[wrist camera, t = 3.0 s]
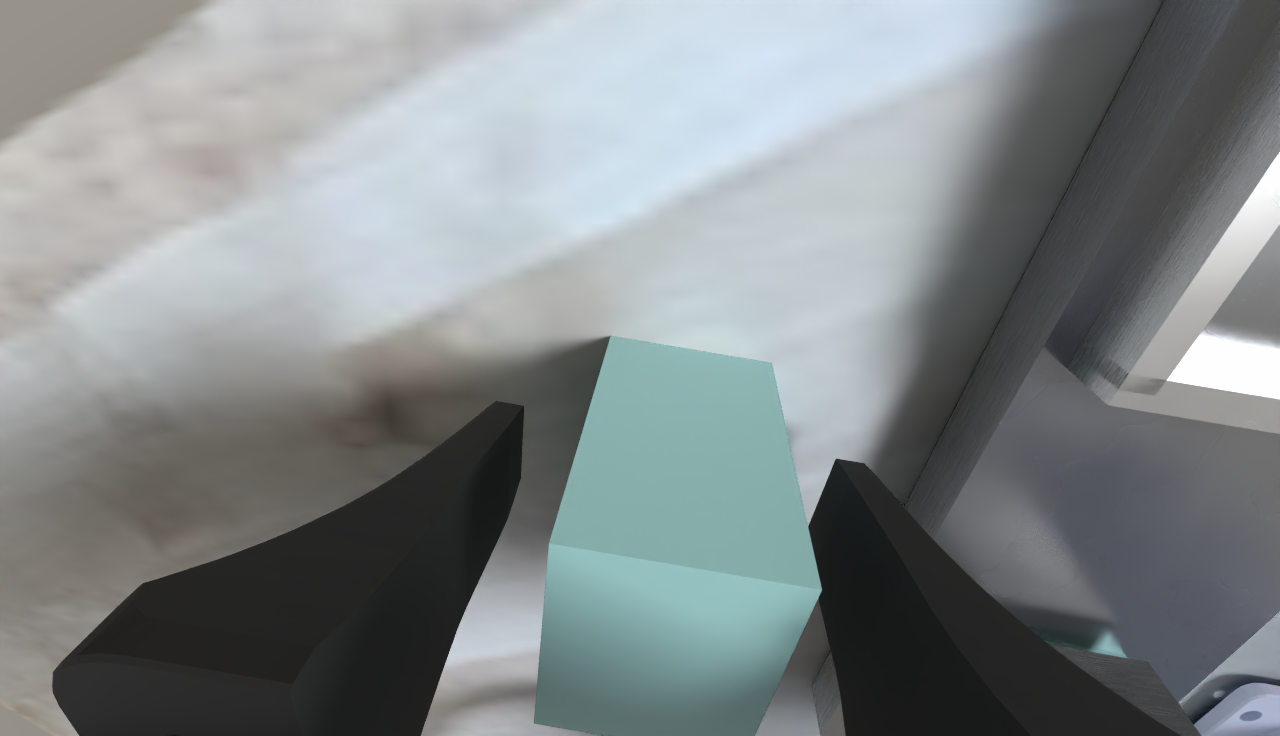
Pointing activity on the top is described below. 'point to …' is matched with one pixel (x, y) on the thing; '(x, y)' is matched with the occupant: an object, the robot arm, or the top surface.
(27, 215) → the top surface
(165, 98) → the top surface
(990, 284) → the top surface
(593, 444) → the pale aqua cube
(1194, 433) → the grey long flat piece
